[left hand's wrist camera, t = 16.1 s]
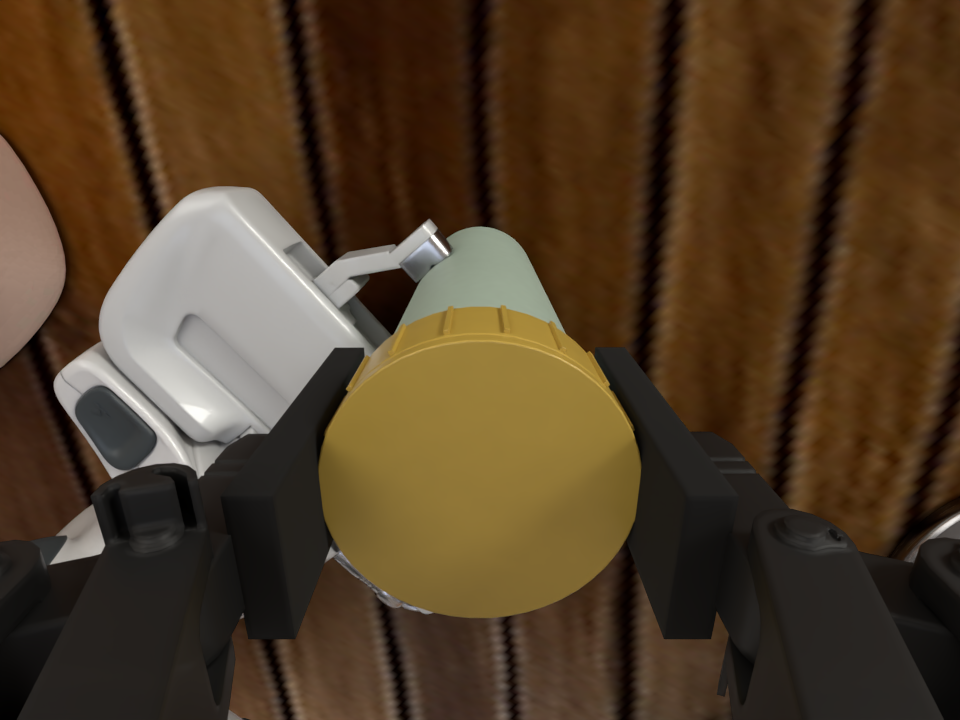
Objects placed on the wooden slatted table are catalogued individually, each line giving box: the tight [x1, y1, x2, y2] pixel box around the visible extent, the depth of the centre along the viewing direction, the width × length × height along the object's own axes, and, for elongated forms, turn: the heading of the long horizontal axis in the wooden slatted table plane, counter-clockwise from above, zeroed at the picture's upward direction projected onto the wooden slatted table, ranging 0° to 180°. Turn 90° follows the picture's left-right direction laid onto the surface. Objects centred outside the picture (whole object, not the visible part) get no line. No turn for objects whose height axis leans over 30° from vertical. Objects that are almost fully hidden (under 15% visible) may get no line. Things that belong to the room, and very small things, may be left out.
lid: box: [318, 305, 641, 618], centre depth 11 cm, size 6×6×2 cm
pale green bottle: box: [394, 227, 566, 334], centre depth 19 cm, size 6×6×18 cm
